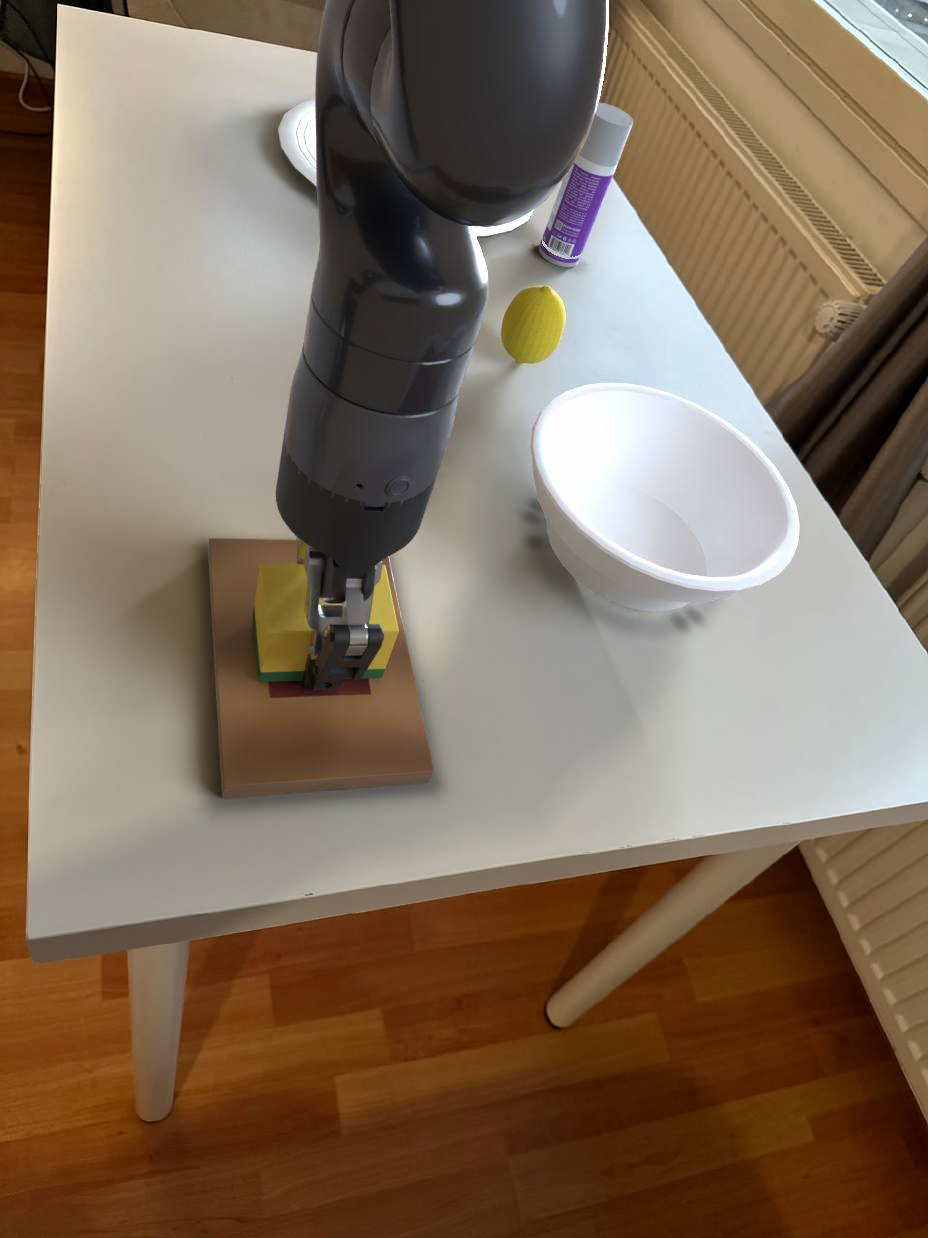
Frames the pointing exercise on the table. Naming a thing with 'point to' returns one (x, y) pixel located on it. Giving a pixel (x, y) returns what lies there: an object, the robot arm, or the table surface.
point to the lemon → (533, 324)
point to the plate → (301, 153)
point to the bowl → (658, 498)
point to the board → (304, 700)
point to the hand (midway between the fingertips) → (315, 645)
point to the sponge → (305, 623)
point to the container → (586, 186)
